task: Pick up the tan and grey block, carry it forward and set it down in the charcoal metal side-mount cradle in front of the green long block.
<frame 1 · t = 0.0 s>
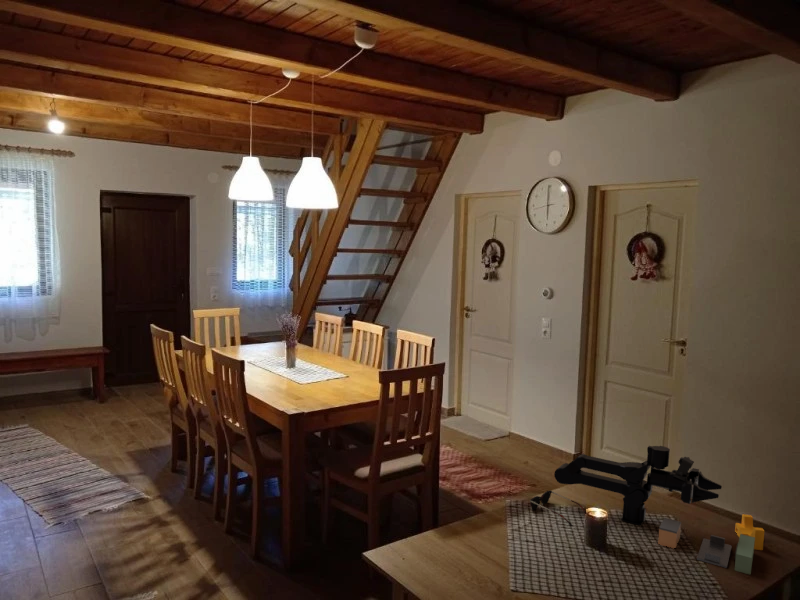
hand: (720, 491, 195), 17 cm above the table, tool horizontal, fingers open, 9 cm apart
side mount: (714, 553, 188), on the table
sunglasses: (559, 515, 212), on the table
green long block: (744, 561, 184), on the table
pipe clamp: (748, 541, 198), on the table
tan and grey block: (669, 541, 195), on the table
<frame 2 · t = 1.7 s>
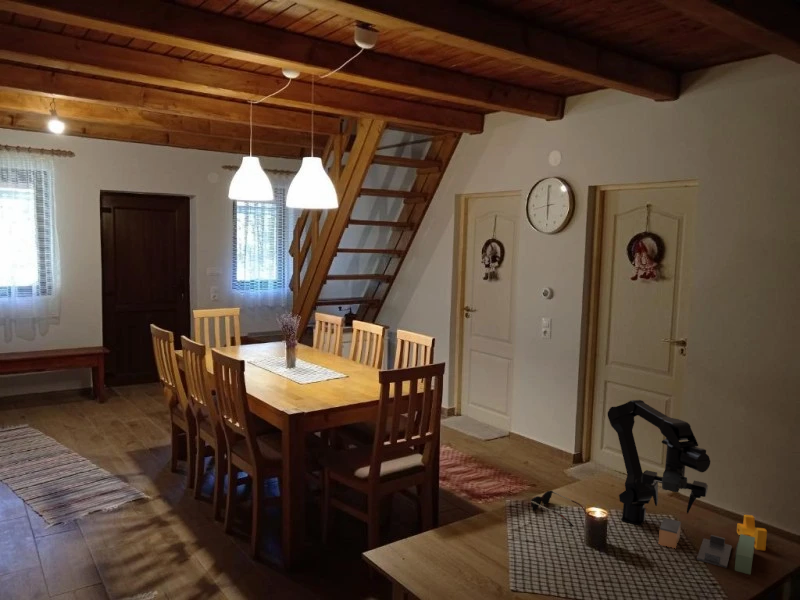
hand: (671, 509, 195), 10 cm above the table, tool pointing down, fingers open, 9 cm apart
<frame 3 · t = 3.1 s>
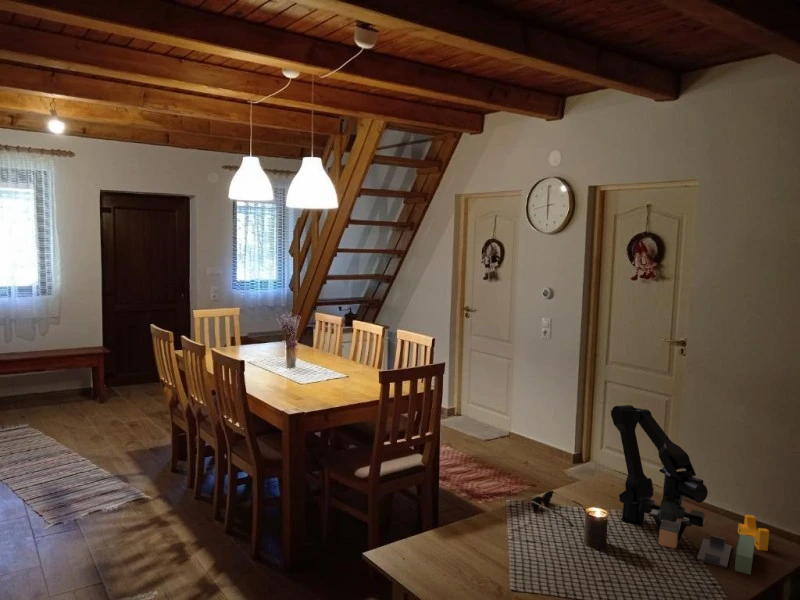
hand: (669, 537, 195), 1 cm above the table, tool pointing down, fingers closed on tan and grey block, 5 cm apart
tan and grey block: (669, 541, 195), on the table, touching gripper
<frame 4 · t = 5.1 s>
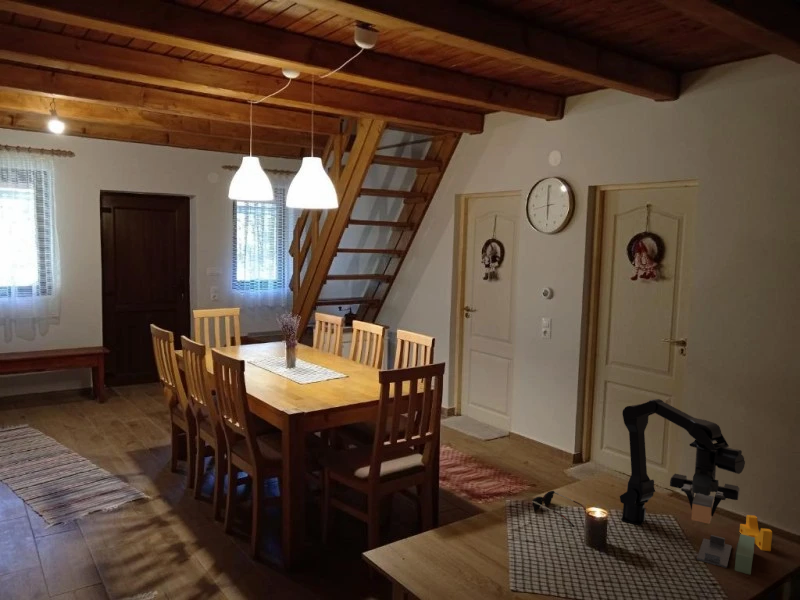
hand: (702, 513, 189), 12 cm above the table, tool pointing down, fingers closed on tan and grey block, 5 cm apart
tan and grey block: (702, 516, 189), point 11 cm above the table, touching gripper
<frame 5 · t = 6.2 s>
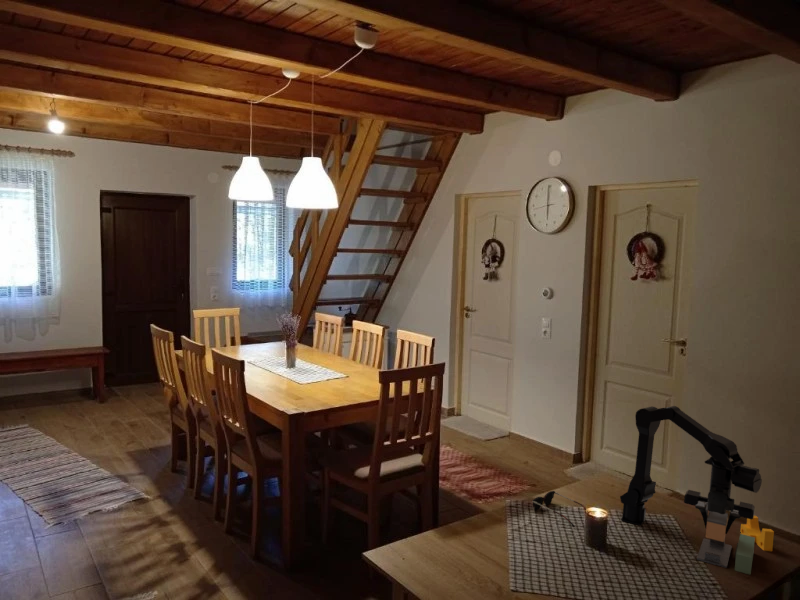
hand: (716, 531, 188), 7 cm above the table, tool pointing down, fingers closed on tan and grey block, 5 cm apart
tan and grey block: (716, 534, 188), point 6 cm above the table, touching gripper
when the fingers open (3 cm above the table, at t = 7.3 s): tan and grey block drops 2 cm, resting on side mount.
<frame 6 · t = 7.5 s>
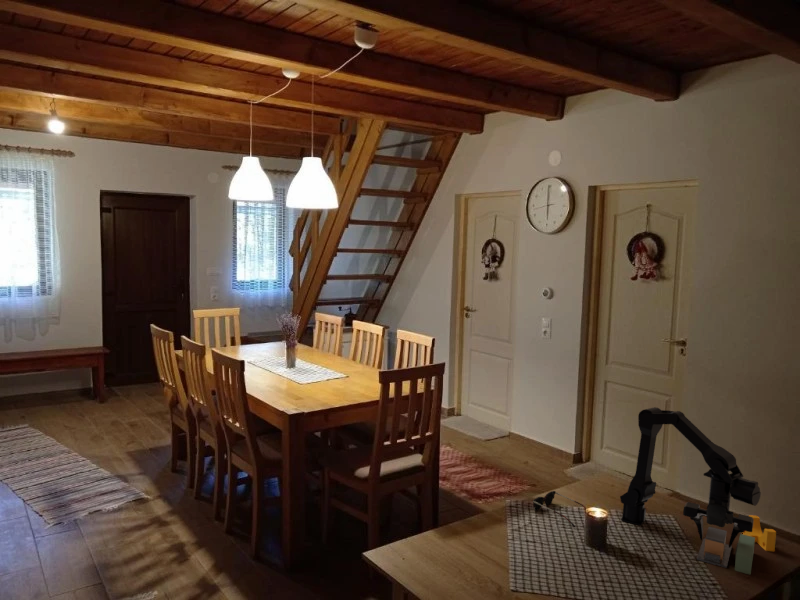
hand: (715, 543, 188), 3 cm above the table, tool pointing down, fingers open, 7 cm apart
tan and grey block: (714, 551, 188), point 1 cm above the table, touching side mount
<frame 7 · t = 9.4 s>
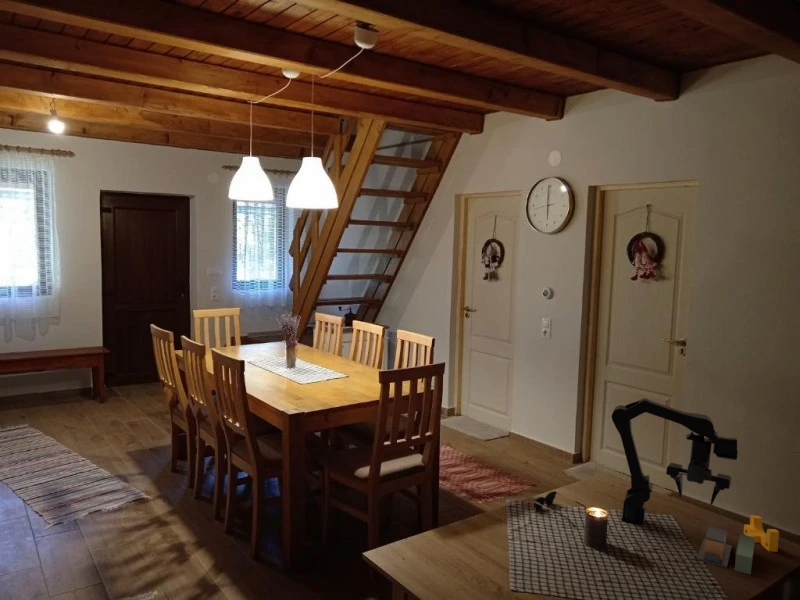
hand: (695, 500, 202), 11 cm above the table, tool pointing down, fingers open, 9 cm apart
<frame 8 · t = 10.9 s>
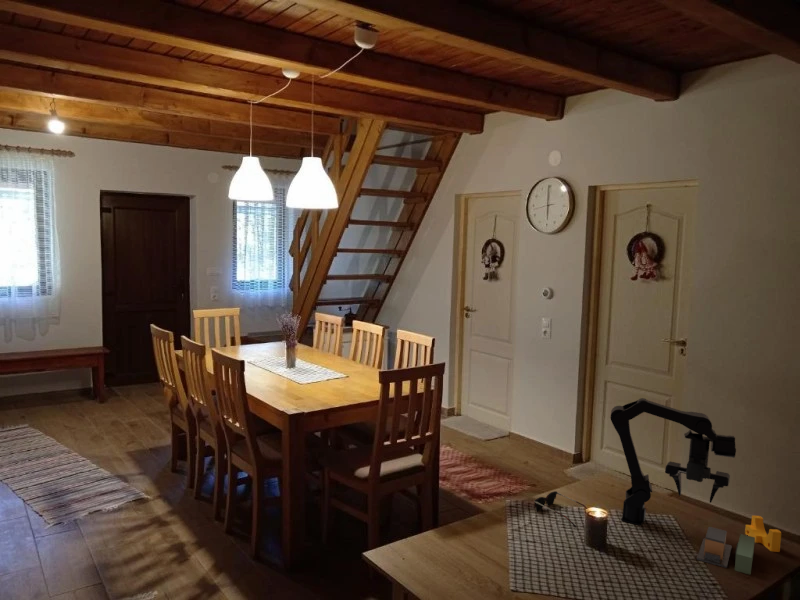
hand: (694, 498, 203), 11 cm above the table, tool pointing down, fingers open, 9 cm apart
at the end: tan and grey block 0.1 cm off-centre on the side mount, point 0.6 cm above the side mount's base; tan and grey block tilted 0°; the gripper is holding nothing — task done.
